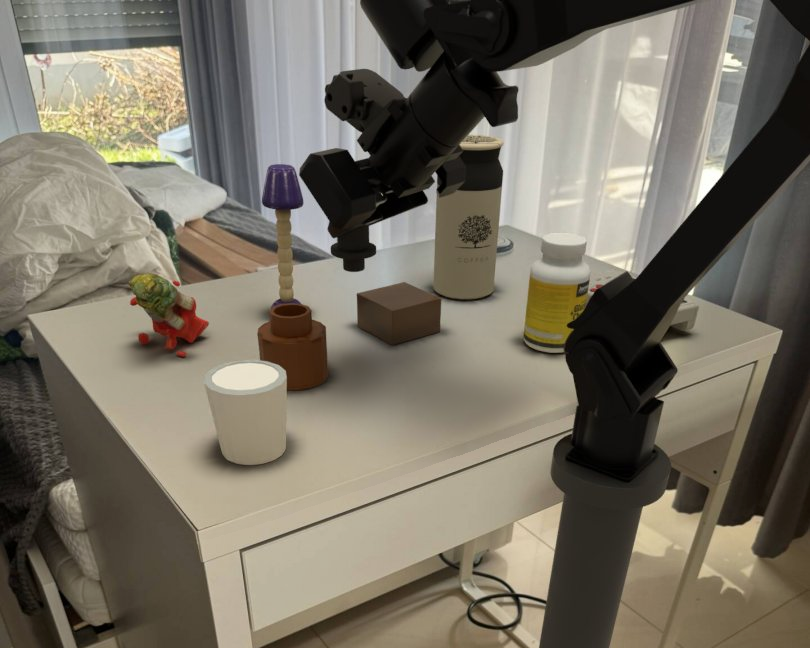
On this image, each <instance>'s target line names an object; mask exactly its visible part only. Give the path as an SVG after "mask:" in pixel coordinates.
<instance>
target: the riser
mask: <svg viewBox="0 0 810 648" xmlns="http://www.w3.org/2000/svg"><path fill="white" fill-rule="evenodd" d="M356 313H357V314H356V317H357V319H356V321H357V322H356V323H357V327H358V328H360V329H362V330H364V331H366V332H367V333H368V334H371V335H373V336H374V337H376V338H378V339H379V340H382V341H383V342H385V343H387V344H389V345H391V346H395V345H399V344H402V343H405V342H409V341H412V340H416V339H419V338H420V339H421V338H424V337H428V336H431V335H433V334H437V333H440V332H441V318H442V317H441V316H442V297H439V296H437V295H435V294H433V293H431V292H428V291H426V290H424V289H422V288H419V287H417V286H415V285H412V284H410V283H408V282H406V281H402V282H398V283H394V284H390V285H386V286H382V287H378V288H374V289H369V290H365V291H360V292H357V293H356Z"/></svg>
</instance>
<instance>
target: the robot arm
mask: <svg viewBox="0 0 810 648" xmlns="http://www.w3.org/2000/svg"><path fill="white" fill-rule="evenodd" d="M706 2H710V0H359V5H360V8H361V9H362V11H363V13H364V15H365V16H366V18H367V19H368V21H369V23H370V24H371V26H372V28H373V29H374V31H376V34H377V35H378V37H379V38H380V39H381V41H382V43H383V44H384V46H385V47H386V49H387V51H388V52H389V54H390V55H391V57H392V58H393V60H394V62H395V63H396V64H397V66H398V67H399V68H400V70H410V69H413V68H414V69H415V71H416V72H418V73H421V72H425V71H426V73H425V75H424V76H423V77H422V78H421V80H420V81H419V82H418V84H417V85H416V86H415V87H414V88H413V90H412V91H411V93H410V94H409V95H408V96H407V97H405V96H404V93H402V92H401V91H400V90H399V89H398V88H396V87H395V86H394V85H393V84H391V83H390V82H389V81H388V80H386V79H385V78H383V77H382V76H381V75H380V74H378V73H377V72H376V71H374V70H372V69H369V68H357V69H351V70H350V69H349V70H342V71H340V72H339V73H338V74H334V75H333V77H332V79H331V82H330V83H329V84H326V85H325V87H324V92H325V95H324V99H323V100H324V105H325V108H326V110H328V111H329V112H330V113H331V114H333V115H334V116H335V117H336V118H338V119H339V120H340V121H341V122H346V123H348V124H349V125H350V126H352V127H353V128H354V129H355V130H356V131H358V132H359V133H361V134H360V135H359V137H357V138H356V143H358V145H359V146H360V148H361V150H362V151H363V153H368V154H369V156H368V157H367V158H361V159H359V160H358V159H357V160H355V159H354V157H353V156H352V155H351V152H349V150H348V149H345V148H338V147H334V148H329V149H325V150H320V151H316V152H311V153H309V154H308V156H307V158H306V159H305V160H304V162H303V163H302V164H301V166H300V167H299V171H298V172H299V173H298V176H299V177H300V179H301V180H302V182H303V183H304V185H305V187H306V188H307V189H308V191H309V192H310V194H311V196H312V197H313V199H314V200H315V202H316V203H317V206H318V207H319V208H320V209H321V211H322V212H323V214H324V215H325V217H326V218H327V220H328V221H329V222H328V226H327V232H328V234H329V235H330V237H331V238H332V239H337V237H339V236H341V235H344V234H346V233H349V232H351V231H353V230H356V229H358V228H361V227H363V226H365V225H368V224H369V227H371V226H373V225H375V224H379V223H381V222H383V221H385V220H388V219H390V218H394V217H396V216H399V215H402V214H403V213H404V214H405V213H407V212H408V211H411V210H413V209H416V208H419V207H422V206H424V205H426V204H428V202H429V198H428V196H427V195H426V193H425V191H426V190H429V189H430V188H431V187H432V186H433V185H434V184H435V182H436V180H435V178H434V177H433V175H434V174H436V176H437V175H438V177H439V179H440V180H441V182H442V184H441V185H440V186H439V187H438V188H437V187H436V189H435V190H436V191H435V192H436V193H435V194H436V196H437V195H438V196H439V198H441V197H444V196H447V195H450V194H453V193H454V192H455V191H456V190H457V189H458V188H459V187H460V186H461V185H462V184H463V183H464V182H465V176H466V166H465V165H464V163H463V162H462V160H461V159H460V157H459V155H460V154H461V153H462V152H463V150H462V148H461V146H460V144H461V142H462V141H463V140H464V139H465V138H466V137H467V136H468V135H470V134H471V133H472V131H474V130H475V128H476V127H477V126H478V125H479V124H480V123H481V122H482V120H483V119H484V118H485V120H486V121H487V123H488V124H489V126H490V127H492V128H497V127H500V126H501V127H502V126H504V125H509V124H513V123H516V122H517V121H518V119H519V105H518V94H519V86H518V85H508V84H506V83H504V81H503V80H502V78H501V76H500V75H499V73H500V72H506V71H511V70H519V69H520V70H521V69H525V68H531V67H538V66H541V65H543V64H545V63H547V62H550V61H551V60H553V59H555V58H557V57H559V56H561V55H563V54H565V53H567V52H570V51H571V50H573V49H575V48H576V47H578V46H579V45H581V44H583V43H584V42H586V41H587V40H588V39H590V38H592V37H594V36H595V35H598V34H599V33H602V32H603V31H606V30H608V29H611V28H615V27H619V26H623V25H626V24H629V23H634V22H636V21H641V20H644V19H647V18H651V17H655V16H659V15H662V14H666V13H669V12H673V11H677V10H680V9H684V8H688V7H691V6H694V5H698V4H701V3H706ZM769 2H771V4H772V5H773V6H774V7H775V8H776V9H777V10H778V11H779V13H780V14H782V16H783V17H784V18H785V19H786V20H787V22H788V23H789V24H790V25H791V26H792V27H793V28H794V29H795V30H796V31H797V32H799V33H800V34H801V35H802V36H803V37H804V38H805V39H806V40H808V41H809V42H810V0H769ZM427 70H428V71H427ZM498 72H499V73H498ZM809 163H810V43H809V44H808V46H807V47H806V49H805V51H804V53H803V54H802V56H801V57H800V59H799V61H798V62H797V64H796V66H795V68H794V69H793V71H792V73H791V75H790V77H789V79H788V82H787V84H786V86H785V88H784V90H783V92H782V93H781V96H780V98H779V100H778V102H777V104H776V106H775V108H774V110H773V112H772V113H771V115H770V116H769V118H768V119H767V121H766V122H765V124H764V125H763V126H762V127H761V128H760V129H759V130H758V132H757V133H756V134H755V136H754V137H752V139H751V140H750V141H749V142H748V144H747V145H746V146H745V147H744V148H743V150H742V151H741V152H740V153H739V155H738V156H737V157H736V158H735V159H734V160H733V162H732V163H731V164H730V165H729V167H728V168H727V169H726V170H725V171H724V172H723V174H722V175H721V176H720V177H719V179H718V180H717V181H715V183H714V184H713V186H712V187H711V188H710V189H709V190H708V191H707V193H706V194H705V195H704V196H703V198H702V199H701V200H700V201H699V202H698V204H696V206H695V207H694V209H693V210H692V211H691V212H690V213H689V215H688V216H687V217H686V218H685V219H684V221H682V222H681V224H680V225H679V226H678V227H677V229H676V230H675V232H674V233H672V235H671V236H670V237H669V238H668V240H667V241H666V242H665V243H664V244H663V246H662V247H661V248H660V250H659V251H658V252H656V254H655V255H654V256H653V258H651V260H650V261H649V262H648V263H647V265H646V266H645V267H644V269H642V271H641V272H640V273H639V275H638V276H637V277H635V278H636V279H635V280H634V279H633V278H634V277H633V276H632V275H631V274H630V272H629V271H628V270H626V271H625V272H622V273H623V274H621V275H619V276H618V277H616V278H614V279H613V280H611V281H609V282H608V283H606V284H604V285H603V286H601V287H599V288H598V289H596V291H595V292H594V294H593V295H592V296H591V298H590V300H589V301H588V303H587V305H586V307H585V309H584V310H583V312H582V313H581V315H580V316H579V317H577V318H576V319H574V320H573V321H571V322H570V323H568V324H567V327H568V328H571V329H574V330H573V331H572V332H571V333H570V334H569V336H568V337H567V339H566V341H565V344H564V348H563V349H564V352H563V353H564V358H565V363H566V365H567V368H568V370H569V372H570V373H571V375H572V378H573V383H574V390H575V394H576V400H577V405H576V408H575V413H574V418H573V419H574V420H573V425H572V432H571V434H572V437H571V445H572V446H574V448H573V449H571V450H570V451H569V452H568V453H566V456H565V459H566V460H567V461H569V462H572V463H574V464H577V465H580V466H582V467H585V468H588V469H590V470H593V471H596V472H598V473H601V474H603V475H606V476H609V477H611V478H614V479H617V480H619V481H622V482H625V483H628V482H631V481H632V480H633V479H634V478H635V477H636V476H637V475H639V474H640V473H641V472H642V471H643V470H644V469H645V468H646V467H647V466H648V465H649V464H650V463H651V462H653V461H654V460H655V459H656V458H657V457H658V453H659V452H658V451H657V450H655V449H653V447H654V444H656V438H657V433H658V429H659V425H660V421H661V417H662V412H663V409H664V404H665V401H664V400H662V399H659V398H657V396H658V395H659V394H660V393H661V392H662V391H664V390H665V389H667V388H668V386H669V385H670V384H671V383H672V381H673V380H674V378H675V377H676V375H677V373H678V367H677V366H676V363H674V361H673V360H672V358H671V356H670V355H669V353H668V351H667V350H666V348H665V347H664V345H663V343H662V342H661V341H662V339H663V337H664V336H665V334H666V333H667V332H668V329H669V328H670V327H671V326H670V325H671V323H672V321H673V319H674V317H675V315H676V313H677V311H678V309H679V306H680V304H681V303H682V301H683V300H684V299H686V297H687V296H688V295H689V294H690V292H691V291H692V290H693V289H694V288H695V287H696V286H697V285H698V284H699V283H700V282H701V280H702V279H703V278H704V277H705V276H706V275H707V274H708V273H709V272H710V270H712V269H713V267H714V266H715V265H716V264H717V263H718V262H719V261H720V260H721V259H722V258H723V256H724V255H725V254H726V253H727V252H728V251H729V250H730V249H731V247H732V246H733V245H734V244H735V243H736V242H737V241H738V240H739V239H740V238H741V237H742V236H743V234H745V233H746V231H747V230H748V229H749V228H751V226H752V225H753V224H754V223H755V221H757V219H758V218H759V217H760V216H761V215H762V214H763V213H764V212H765V211H766V209H768V208H769V207H770V205H771V204H772V203H773V202H774V201H775V200H776V199H777V197H778V196H779V195H781V193H782V192H783V191H784V190H785V189H786V188H787V186H789V184H791V182H792V181H793V180H794V179H795V178H796V177H797V176H798V175H799V173H801V171H802V170H803V169H804V168H805V167H806V166H807V165H808V164H809ZM632 277H633V278H632Z"/></svg>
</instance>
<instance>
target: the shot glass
mask: <svg viewBox="0 0 810 648" xmlns="http://www.w3.org/2000/svg"><path fill="white" fill-rule="evenodd" d="M203 384H204V390H205V392H206V393H205V394H206V396H207V400H208V404H209V408H210V412H211V416H212V419H213V420H212V421H213V424H214V428H215V432H216V436H217V440H218V443H219V447H220V450H221V454H222V456H223V457H224V458H225V459H226V461H229V462H231V463H234V464H236V465H244V466H256V465H263V464H267V463H270V462H274V461H275V460H277V459H279V458H280V457H282V455H284V453H285V451H286V450H287V396H288V395H287V392H288V390H287V376H286V371H285V370H284V369H283V368H282V367H280V366H279V365H277V364H274V363H271V362H268V361H260V359H259V360H257V359H245V360H234V361H230V362H226V363H221V364H220V365H217V366H215V367H213V368H211V369H210V370H209V371H208V372H206V374H205V375H204V376H203Z"/></svg>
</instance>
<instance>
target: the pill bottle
mask: <svg viewBox="0 0 810 648" xmlns="http://www.w3.org/2000/svg"><path fill="white" fill-rule="evenodd" d="M587 243H588V240H587V238H586V237H584V236H582V235H579V234H576V233H570V232H552V233H547V234H544V235H543V236H542V239H541V244H540V245H541V246H540V252H541V253H542V257H541V258H538V259H537V260H536V261H534V262H533V263H532V265H531V267H530V270H529V271H530V272H529V279H528V289H527V299H526V307H525V308H526V310H525V316H524V317H525V320H524V327H523V341H524V342H525V344H526V345H527V346H528V347H530V348H531V349H534V350H536V351H540V352H543V353H550V354H551V353H553V354H559V353H560V354H561V353H565V352H564V349H563V348H564V344H565V341H566V339H567V337H568V336H569V334H570V333H571V332H572V331H573V330H574V329H571V328H568V327H567V324H568V323H570V322H571V321H573V320H574V319H576V318H577V317H579V316H580V315H581V313H582V312H583V310H584V309H585V307H586V300H587V294H588V287H589V281H590V274H591V269H590V266H589V265H588V264H587V262H585V261H584V260H583V256H585V254H586V251H587Z"/></svg>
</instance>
